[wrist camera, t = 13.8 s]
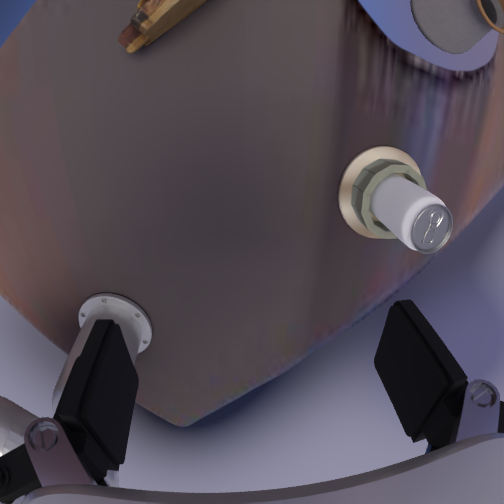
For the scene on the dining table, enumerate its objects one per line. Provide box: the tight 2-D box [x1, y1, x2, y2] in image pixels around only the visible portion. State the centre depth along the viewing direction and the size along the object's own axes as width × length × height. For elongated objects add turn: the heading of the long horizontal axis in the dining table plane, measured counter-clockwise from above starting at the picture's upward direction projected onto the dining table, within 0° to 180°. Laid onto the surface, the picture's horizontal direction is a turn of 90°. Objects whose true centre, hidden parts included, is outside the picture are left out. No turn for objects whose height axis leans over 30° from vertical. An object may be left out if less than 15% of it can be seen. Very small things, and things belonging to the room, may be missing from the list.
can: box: [369, 173, 453, 254], centre depth 34 cm, size 6×6×12 cm
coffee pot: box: [410, 0, 504, 54], centre depth 21 cm, size 21×12×15 cm, turn 129°
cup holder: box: [338, 146, 427, 239], centre depth 38 cm, size 13×13×4 cm
